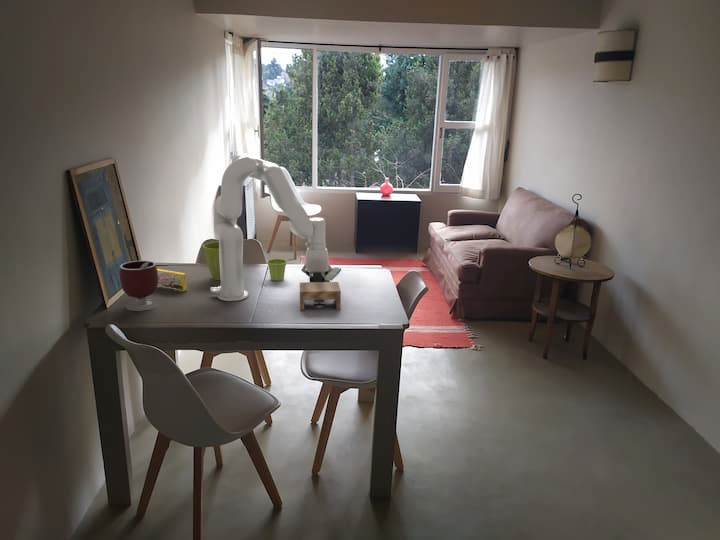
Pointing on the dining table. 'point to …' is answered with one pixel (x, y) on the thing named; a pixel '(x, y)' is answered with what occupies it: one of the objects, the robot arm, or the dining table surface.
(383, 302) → the dining table surface
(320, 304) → the steel disc
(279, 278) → the plant pot
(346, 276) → the dining table surface
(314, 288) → the walnut shelf
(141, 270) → the mate gourd
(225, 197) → the robot arm
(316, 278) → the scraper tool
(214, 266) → the flower pot
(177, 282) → the candy box
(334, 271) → the stone slab
